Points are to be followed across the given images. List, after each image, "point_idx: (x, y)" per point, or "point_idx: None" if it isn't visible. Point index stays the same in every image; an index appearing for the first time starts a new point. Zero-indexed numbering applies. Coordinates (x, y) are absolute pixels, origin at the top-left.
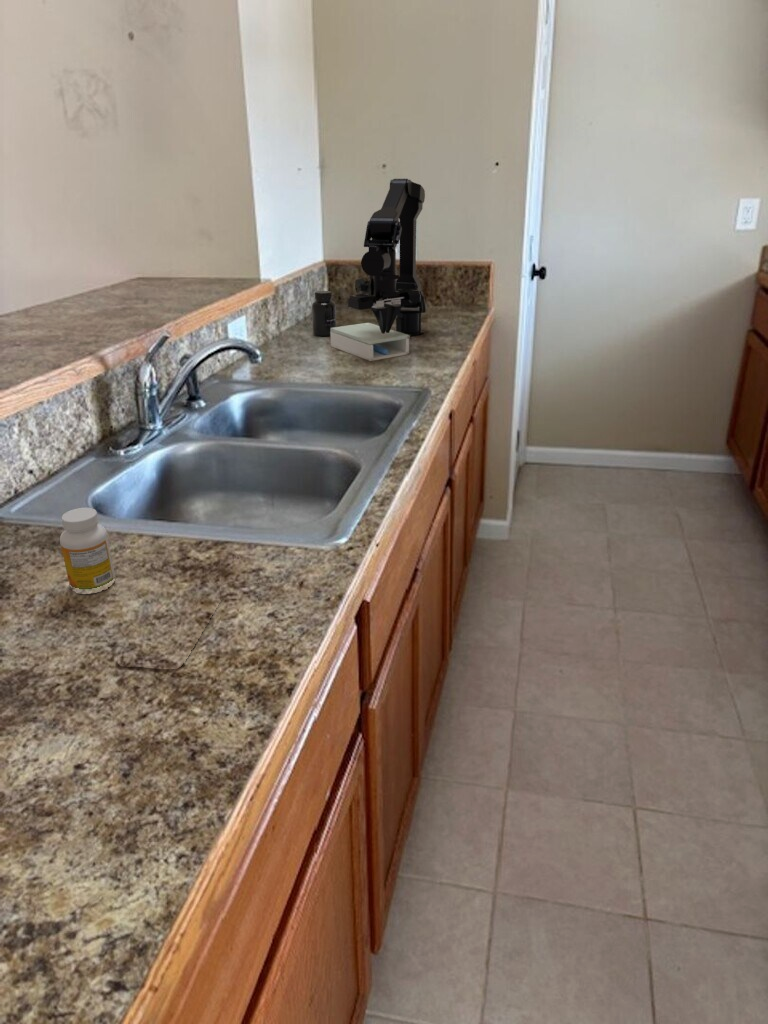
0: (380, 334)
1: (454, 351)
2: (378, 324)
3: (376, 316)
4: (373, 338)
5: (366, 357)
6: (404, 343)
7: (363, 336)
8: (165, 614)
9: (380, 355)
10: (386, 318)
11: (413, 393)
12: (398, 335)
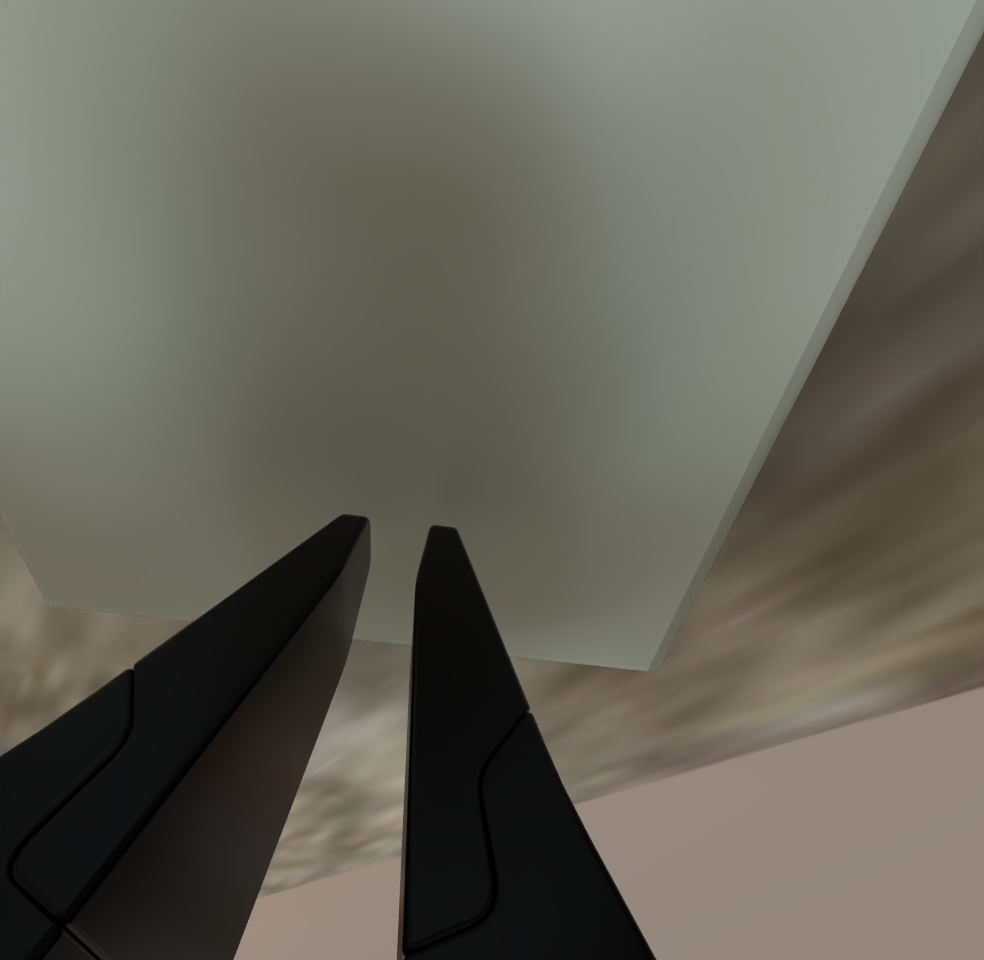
0: (381, 429)
1: (888, 669)
2: (226, 601)
3: (8, 812)
4: (152, 546)
5: None
6: None
7: (29, 345)
8: None
9: None
10: (241, 922)
11: None
12: (542, 621)
